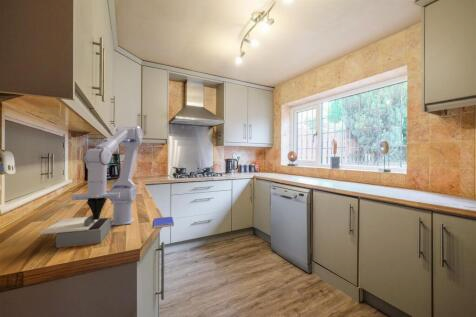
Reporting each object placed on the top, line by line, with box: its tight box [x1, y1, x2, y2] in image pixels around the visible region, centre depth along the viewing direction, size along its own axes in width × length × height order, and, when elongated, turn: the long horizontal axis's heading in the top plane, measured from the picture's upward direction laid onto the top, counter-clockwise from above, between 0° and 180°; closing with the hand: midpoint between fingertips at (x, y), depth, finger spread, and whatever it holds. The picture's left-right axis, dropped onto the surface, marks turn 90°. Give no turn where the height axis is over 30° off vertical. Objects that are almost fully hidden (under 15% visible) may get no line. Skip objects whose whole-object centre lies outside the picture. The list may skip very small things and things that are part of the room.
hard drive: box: [152, 216, 175, 229], centre depth 94 cm, size 2×8×12 cm
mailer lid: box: [39, 214, 102, 235], centre depth 75 cm, size 16×12×3 cm
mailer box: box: [55, 217, 112, 249], centre depth 76 cm, size 16×12×4 cm
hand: (96, 219), depth 77 cm, fingers closed
